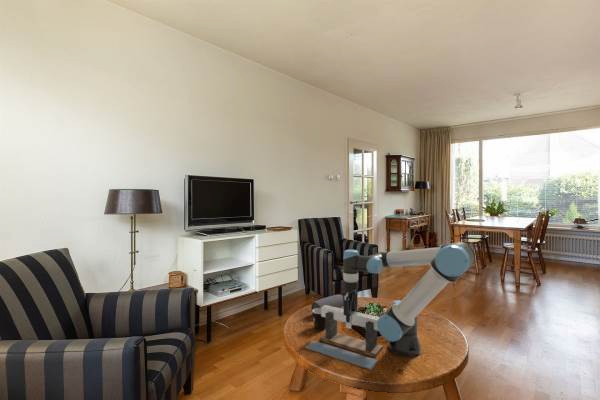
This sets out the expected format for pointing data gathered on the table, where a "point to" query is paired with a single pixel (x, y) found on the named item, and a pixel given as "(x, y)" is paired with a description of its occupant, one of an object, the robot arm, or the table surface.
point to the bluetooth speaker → (329, 302)
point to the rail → (356, 317)
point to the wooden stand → (352, 338)
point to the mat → (342, 354)
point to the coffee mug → (318, 320)
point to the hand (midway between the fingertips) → (350, 326)
